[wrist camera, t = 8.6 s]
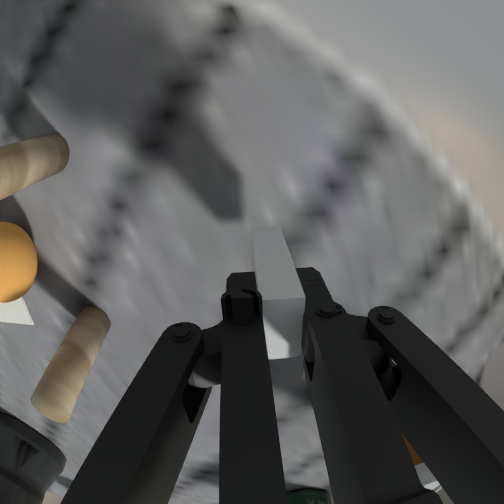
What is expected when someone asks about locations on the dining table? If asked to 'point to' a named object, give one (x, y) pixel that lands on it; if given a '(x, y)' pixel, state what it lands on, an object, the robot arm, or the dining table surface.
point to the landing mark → (15, 312)
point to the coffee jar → (308, 497)
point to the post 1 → (31, 162)
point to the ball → (16, 262)
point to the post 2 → (71, 365)
